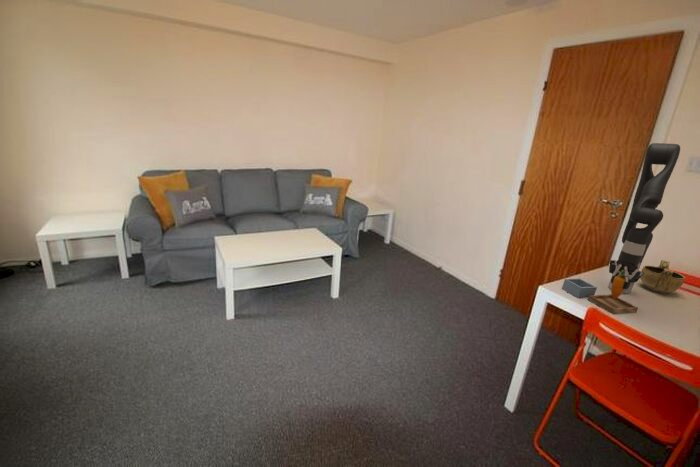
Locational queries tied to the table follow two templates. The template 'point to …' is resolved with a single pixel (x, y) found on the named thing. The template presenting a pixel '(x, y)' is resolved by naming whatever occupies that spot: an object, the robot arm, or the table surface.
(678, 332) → the table surface
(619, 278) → the carrot
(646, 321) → the table surface
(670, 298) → the table surface
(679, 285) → the tan woven basket
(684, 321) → the table surface
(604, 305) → the tray
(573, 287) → the blue-grey square box
